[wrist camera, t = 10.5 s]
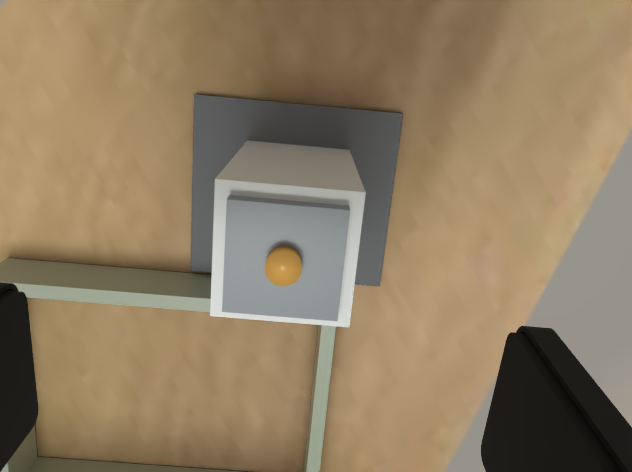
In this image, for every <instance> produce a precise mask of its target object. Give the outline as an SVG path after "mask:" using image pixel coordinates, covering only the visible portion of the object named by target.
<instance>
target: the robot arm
mask: <svg viewBox="0 0 632 472" xmlns="http://www.w3.org/2000/svg"><path fill="white" fill-rule="evenodd" d="M37 415H38V402H37V392H36V382H35V372H34V362H33V353H32V343H31V333H30V323H29V314H28V304H27V297H26V295H25V293H24V292H20V291H18V288H17V286H16V285H15V284H13V283H2V282H0V472H1V471H2V469H3V468H4V467H5V465H6V464H7V463H8V461H9V460H10V458H11V457H12V456H13V454H14V453H15V452H16V450H17V449H18V448H19V446H20V445H21V443H22V442H23V441H24V439H25V438H26V437H27V435H28V434H29V433H30V431H31V430H32V428H33V427H34V425H35V422H36V419H37ZM481 456H482V462H483V465H484V467H485V470H486V472H632V427H631V426H630V425H629V423H628V422H627V421H626V420H625V418H624V417H623V416H622V415H621V413H620V412H619V411H618V410H617V408H616V407H615V406H614V405H613V404H612V402H611V401H610V400H609V399H608V397H607V396H606V395H605V394H604V392H603V391H602V390H601V389H600V387H599V386H598V385H597V384H596V382H595V381H594V380H593V379H592V377H591V376H590V375H589V374H588V372H587V371H586V370H585V369H584V367H583V366H582V365H581V364H580V362H579V361H578V360H577V359H576V357H575V356H574V355H573V354H572V352H571V351H570V350H569V349H568V347H567V346H566V345H565V344H564V342H563V341H562V340H561V339H560V337H559V336H558V335H557V334H556V332H555V331H554V330H553V329H551V328H540V327H528V326H521V327H519V328H518V330H517V332H516V333H512V332H511V333H510V334H509V335H508V337H507V340H506V344H505V348H504V352H503V356H502V360H501V364H500V369H499V373H498V377H497V381H496V385H495V389H494V394H493V398H492V402H491V406H490V410H489V414H488V418H487V423H486V427H485V431H484V435H483V439H482V445H481Z"/></svg>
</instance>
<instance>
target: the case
mask: <svg viewBox="0 0 632 472" xmlns="http://www.w3.org/2000/svg"><path fill="white" fill-rule="evenodd" d="M211 277H212V275H208V274H196V273H184V272H172V271H160V270H148V269H136V268H123V267H111V266H99V265H87V264H75V263H63V262H51V261H39V260H26V259H14V258H7V259H6V260H4V261H3V262H1V263H0V282H2V283H13V284H15V285H16V286H17V288H18V291H20V292H24V293H25V295H26V297H28V298H40V299H53V300H65V301H78V302H90V303H103V304H115V305H128V306H140V307H152V308H165V309H177V310H190V311H202V312H210V305H211ZM335 330H336V326H327V325H318V334H317V344H316V354H315V364H314V374H313V383H312V393H311V403H310V413H309V423H308V433H307V442H306V452H305V462H304V472H320V463H321V454H322V445H323V436H324V428H325V419H326V410H327V401H328V392H329V383H330V374H331V366H332V357H333V348H334V339H335ZM1 472H243V471H229V470H215V469H201V468H187V467H173V466H159V465H146V464H132V463H118V462H104V461H90V460H76V459H62V458H48V457H37V444H36V432H35V425H34V427H33V428H32V430H31V431H30V433H29V434H28V435H27V437H26V438H25V439H24V441H23V442H22V443H21V445H20V446H19V448H18V449H17V450H16V452H15V453H14V454H13V456H12V457H11V458H10V460H9V461H8V463H7V464H6V465H5V467H4V468H3V469H2V471H1Z"/></svg>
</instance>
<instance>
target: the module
mask: <svg viewBox="0 0 632 472" xmlns="http://www.w3.org/2000/svg"><path fill="white" fill-rule="evenodd" d="M365 195H366V192H365V189H364V187H363V184H362V181H361V179H360V176H359V174H358V171H357V168H356V166H355V163H354V161H353V158H352V156H351V153H350V150H346V149H335V148H324V147H313V146H302V145H292V144H281V143H270V142H259V141H248V140H247V141H246V142H245V144H244V145H243V146H242V147H241V148H240V150H239V151H238V152H237V153H236V154H235V156H234V157H233V158H232V159H231V160H230V162H229V163H228V164H227V165H226V166H225V168H224V169H223V170H222V171H221V172H220V174H219V175H218V176H217V177H216V178H215V191H214V220H213V248H212V277H211V305H210V316H216V317H228V318H241V319H253V320H265V321H277V322H290V323H302V324H314V325H327V326H339V327H349V325H350V317H351V309H352V300H353V292H354V284H355V276H356V268H357V260H358V252H359V243H360V235H361V227H362V219H363V211H364V203H365Z"/></svg>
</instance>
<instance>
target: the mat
mask: <svg viewBox="0 0 632 472" xmlns="http://www.w3.org/2000/svg"><path fill="white" fill-rule="evenodd" d="M402 118H403V114H402V113H395V112H384V111H373V110H363V109H352V108H341V107H330V106H319V105H308V104H298V103H287V102H276V101H265V100H254V99H243V98H233V97H222V96H211V95H200V94H195V95H194V126H193V175H192V224H191V271H200V272H212V248H213V220H214V191H215V178H216V177H217V176H218V175H219V174H220V172H221V171H222V170H223V169H224V168H225V166H226V165H227V164H228V163H229V162H230V160H231V159H232V158H233V157H234V156H235V154H236V153H237V152H238V151H239V150H240V148H241V147H242V146H243V145H244V144H245V142H246V141H247V140H248V141H259V142H270V143H281V144H292V145H302V146H313V147H324V148H335V149H346V150H350V153H351V156H352V158H353V161H354V163H355V166H356V168H357V171H358V174H359V176H360V179H361V181H362V184H363V187H364V189H365V192H366V195H365V203H364V211H363V219H362V227H361V235H360V243H359V252H358V260H357V268H356V276H355V284H358V285H370V286H380V279H381V272H382V265H383V257H384V250H385V243H386V235H387V228H388V221H389V213H390V206H391V199H392V192H393V184H394V177H395V170H396V162H397V155H398V148H399V140H400V133H401V126H402Z"/></svg>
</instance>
